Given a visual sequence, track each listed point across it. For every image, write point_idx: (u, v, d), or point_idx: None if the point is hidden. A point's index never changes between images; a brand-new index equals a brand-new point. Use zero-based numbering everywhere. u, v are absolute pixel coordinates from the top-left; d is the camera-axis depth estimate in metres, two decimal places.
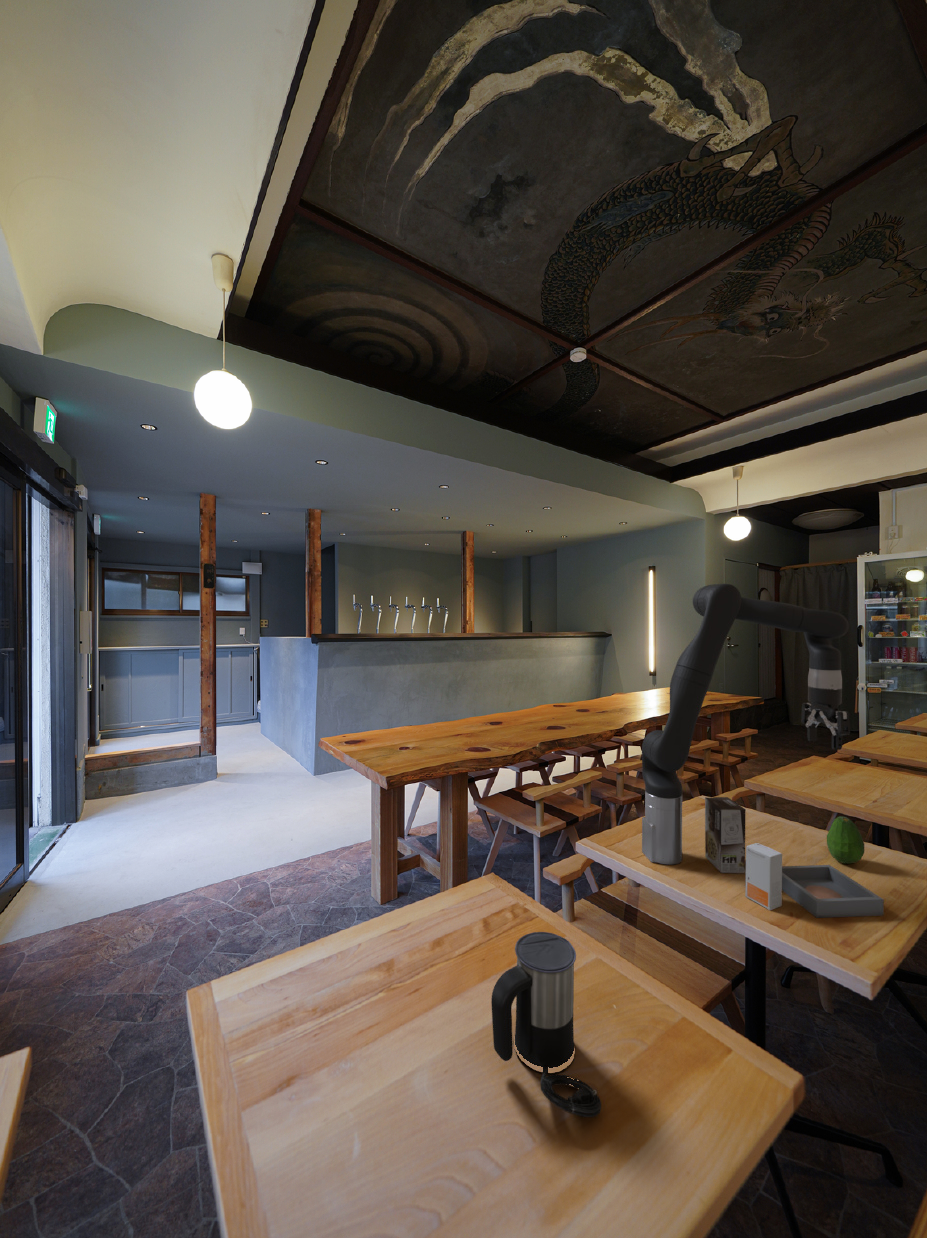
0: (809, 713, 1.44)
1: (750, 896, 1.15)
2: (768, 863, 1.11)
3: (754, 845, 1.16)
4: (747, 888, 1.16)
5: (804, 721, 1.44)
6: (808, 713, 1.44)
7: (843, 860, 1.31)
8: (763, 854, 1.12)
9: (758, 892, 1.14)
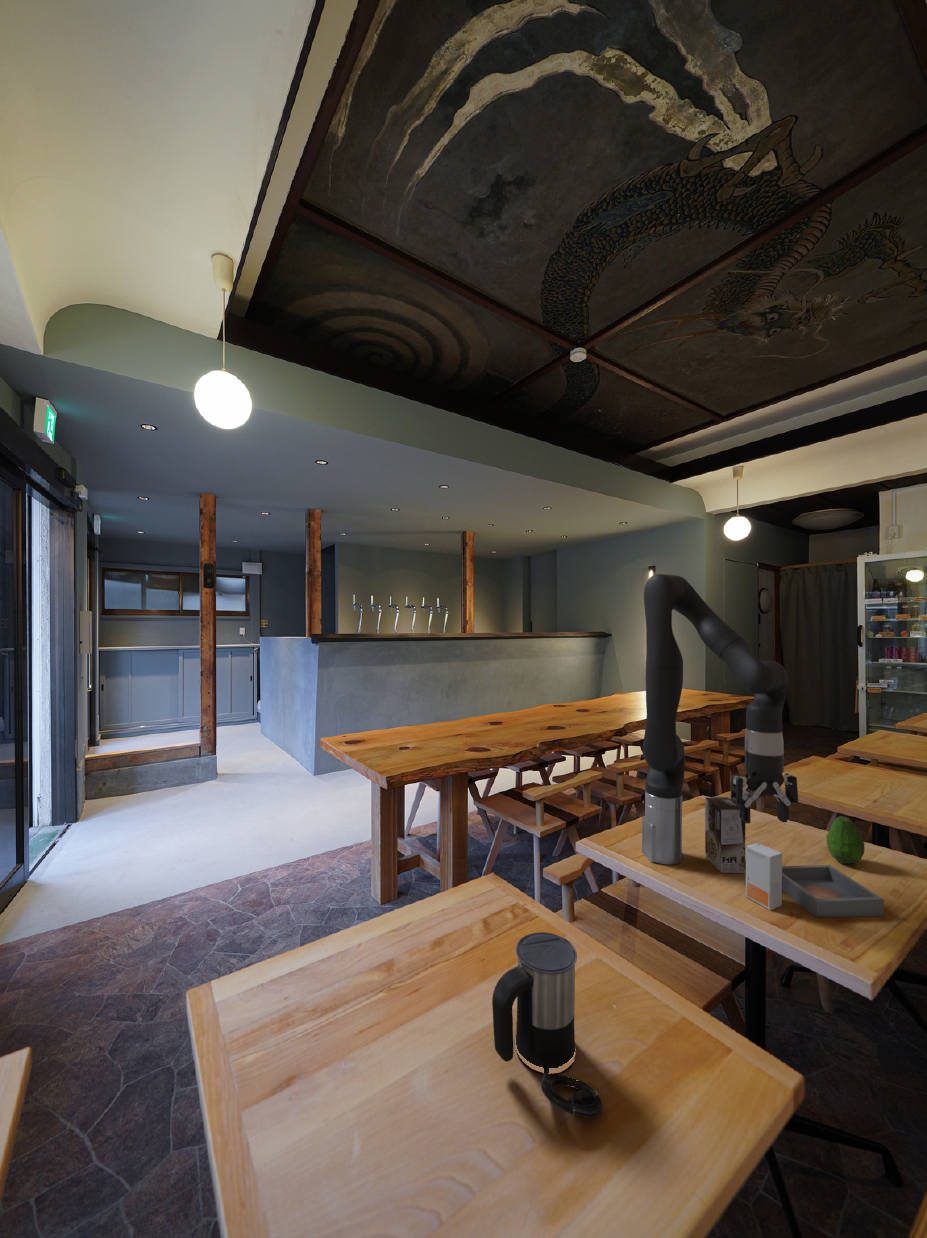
0: None
1: (750, 896, 1.15)
2: (768, 863, 1.11)
3: (754, 845, 1.16)
4: (747, 888, 1.16)
5: (741, 801, 1.13)
6: None
7: (843, 860, 1.31)
8: (763, 854, 1.12)
9: (758, 892, 1.14)
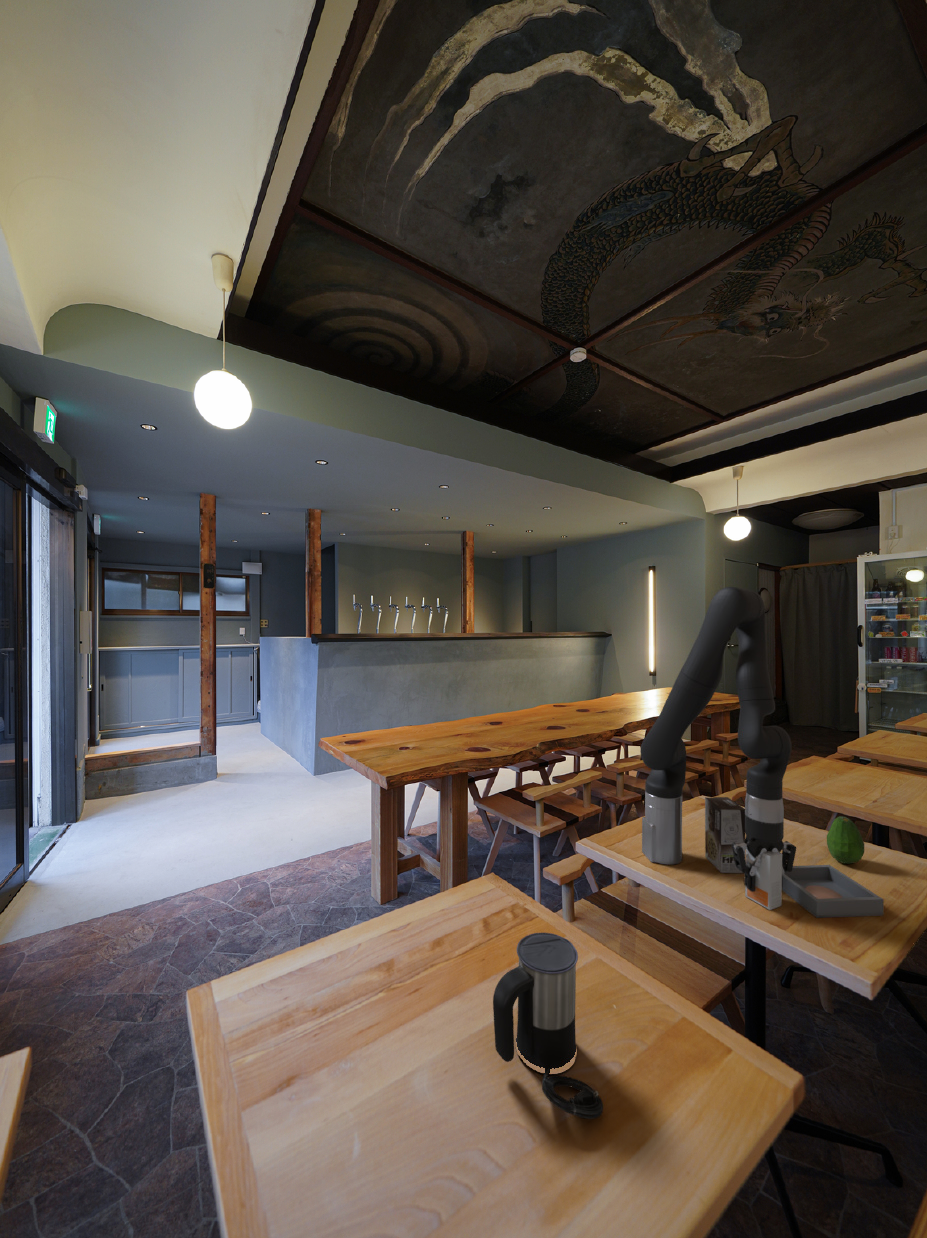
0: None
1: (750, 896, 1.15)
2: (768, 863, 1.11)
3: None
4: (747, 888, 1.16)
5: (746, 869, 1.13)
6: None
7: (843, 860, 1.31)
8: (763, 854, 1.13)
9: (758, 892, 1.14)
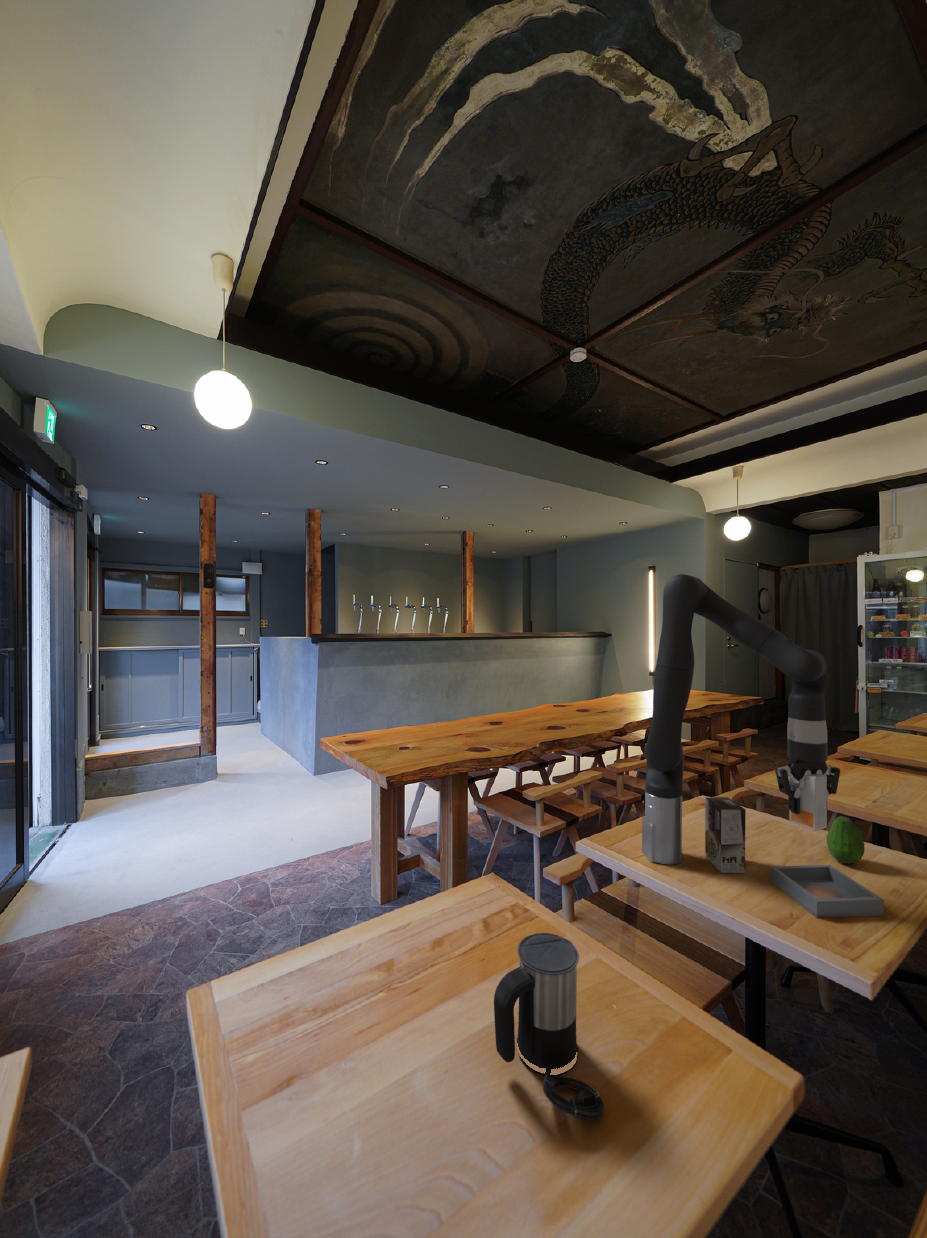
0: None
1: (794, 820, 1.16)
2: (812, 784, 1.12)
3: None
4: (791, 812, 1.17)
5: (790, 791, 1.14)
6: None
7: (843, 860, 1.31)
8: (807, 776, 1.13)
9: (802, 814, 1.14)
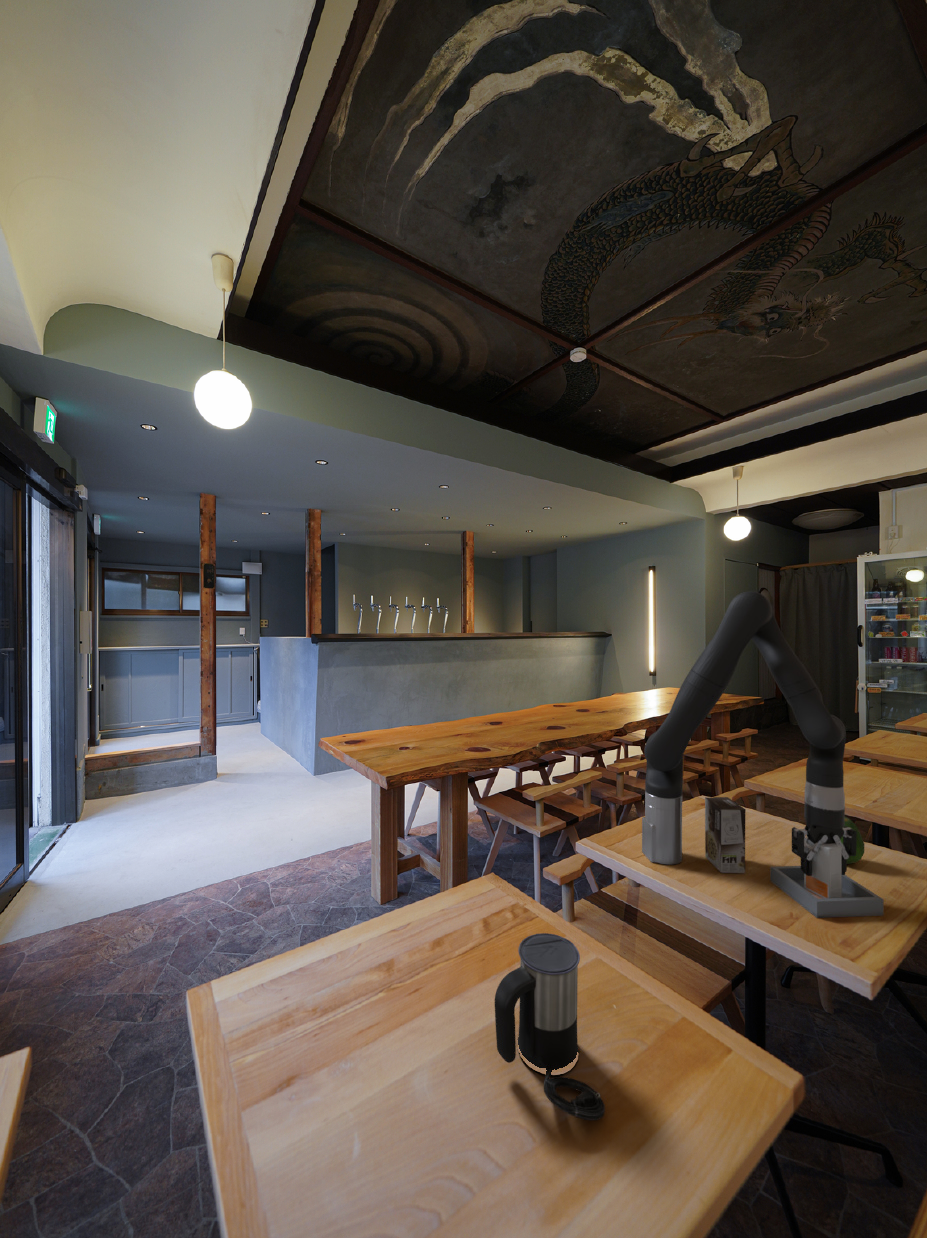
0: None
1: (809, 887, 1.17)
2: (827, 855, 1.13)
3: None
4: (806, 880, 1.18)
5: (803, 854, 1.15)
6: None
7: None
8: (822, 846, 1.14)
9: (817, 884, 1.16)
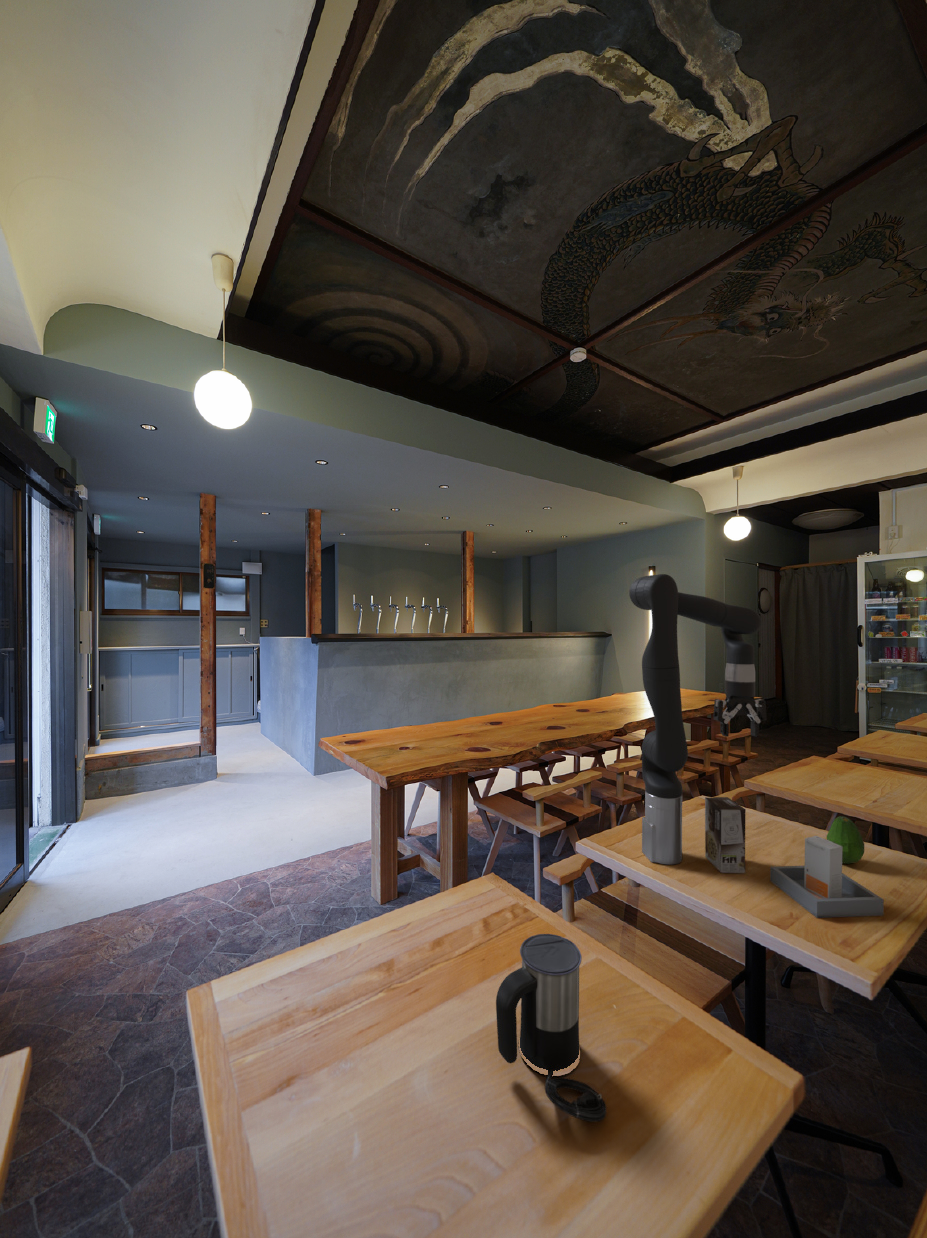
0: None
1: (809, 887, 1.17)
2: (827, 855, 1.13)
3: (813, 838, 1.18)
4: (806, 880, 1.18)
5: (721, 718, 1.44)
6: None
7: (843, 860, 1.31)
8: (823, 846, 1.14)
9: (817, 884, 1.16)
